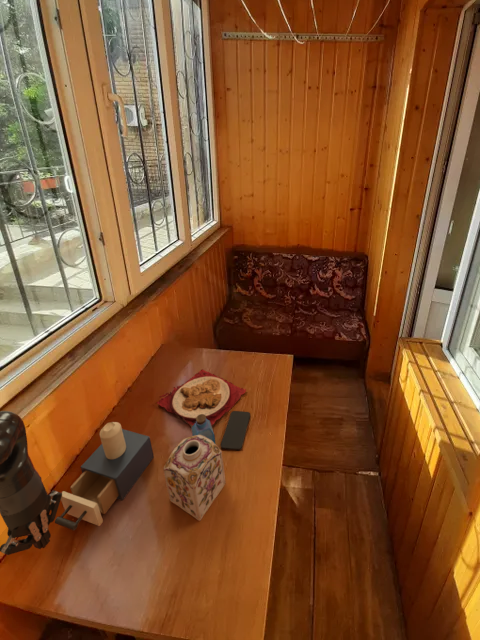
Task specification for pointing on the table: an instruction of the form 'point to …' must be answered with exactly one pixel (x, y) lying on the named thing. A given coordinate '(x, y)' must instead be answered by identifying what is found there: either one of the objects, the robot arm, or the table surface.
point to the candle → (113, 440)
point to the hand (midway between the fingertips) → (43, 543)
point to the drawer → (88, 499)
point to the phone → (235, 430)
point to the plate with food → (202, 398)
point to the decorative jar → (194, 475)
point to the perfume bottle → (203, 428)
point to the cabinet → (123, 462)
